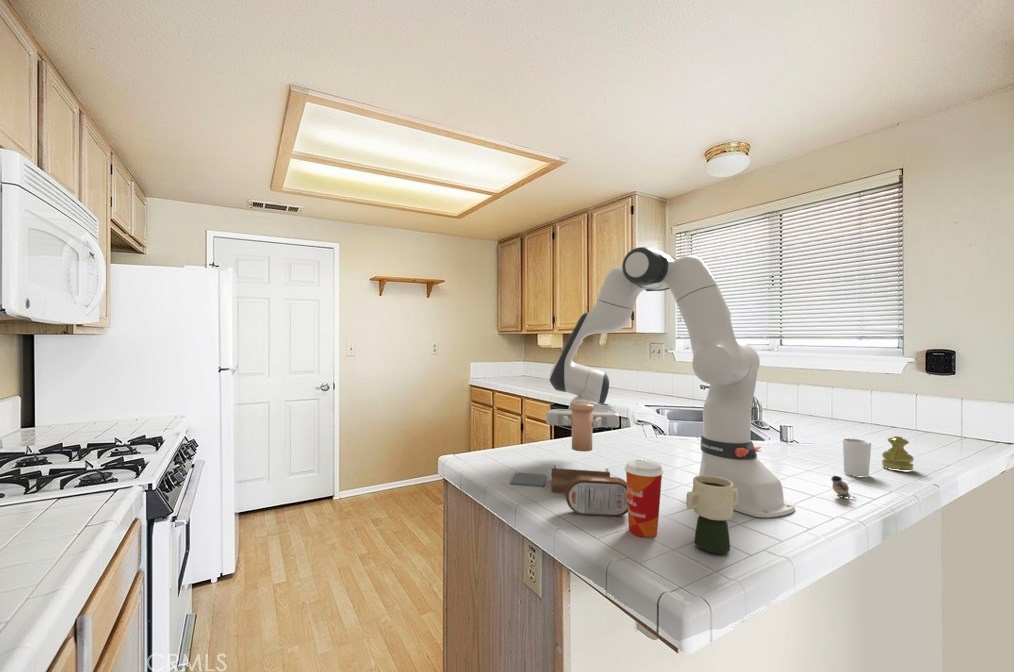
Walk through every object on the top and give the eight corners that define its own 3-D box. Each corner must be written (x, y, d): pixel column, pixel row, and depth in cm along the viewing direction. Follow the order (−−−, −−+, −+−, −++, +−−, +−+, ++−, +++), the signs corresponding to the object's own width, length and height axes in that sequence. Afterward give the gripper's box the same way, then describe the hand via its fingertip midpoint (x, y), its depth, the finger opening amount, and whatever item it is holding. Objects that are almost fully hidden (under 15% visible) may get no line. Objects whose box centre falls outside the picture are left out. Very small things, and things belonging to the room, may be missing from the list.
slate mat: (515, 473, 130) (515, 472, 130) (546, 476, 129) (546, 474, 129) (510, 484, 121) (510, 482, 121) (543, 486, 120) (543, 485, 120)
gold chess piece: (910, 468, 141) (911, 436, 140) (916, 474, 134) (916, 440, 134) (880, 464, 145) (880, 433, 144) (883, 470, 138) (884, 437, 138)
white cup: (874, 479, 129) (875, 444, 129) (847, 476, 132) (847, 442, 131) (864, 472, 136) (865, 439, 136) (838, 469, 138) (839, 437, 138)
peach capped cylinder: (598, 450, 121) (599, 405, 121) (578, 452, 118) (578, 406, 118) (585, 444, 127) (585, 402, 127) (565, 447, 124) (565, 403, 124)
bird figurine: (841, 503, 111) (842, 479, 111) (821, 495, 116) (822, 473, 116) (858, 501, 112) (858, 478, 112) (837, 494, 117) (838, 471, 117)
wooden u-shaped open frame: (553, 479, 125) (554, 458, 125) (607, 483, 123) (608, 461, 123) (551, 492, 116) (551, 468, 116) (609, 496, 113) (610, 472, 113)
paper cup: (618, 524, 97) (619, 458, 97) (653, 523, 98) (654, 458, 97) (631, 541, 89) (632, 470, 89) (669, 540, 90) (670, 469, 90)
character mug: (724, 538, 91) (725, 473, 91) (750, 555, 84) (751, 485, 84) (675, 542, 89) (676, 476, 89) (697, 560, 82) (699, 489, 82)
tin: (631, 513, 103) (632, 476, 103) (634, 519, 100) (634, 481, 100) (564, 510, 104) (565, 473, 104) (565, 515, 101) (565, 478, 101)
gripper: (547, 402, 137) (543, 410, 123) (617, 404, 133) (620, 412, 120) (547, 423, 137) (543, 433, 123) (617, 426, 133) (620, 436, 120)
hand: (582, 423), depth 121 cm, fingers closed on peach capped cylinder, 5 cm apart
